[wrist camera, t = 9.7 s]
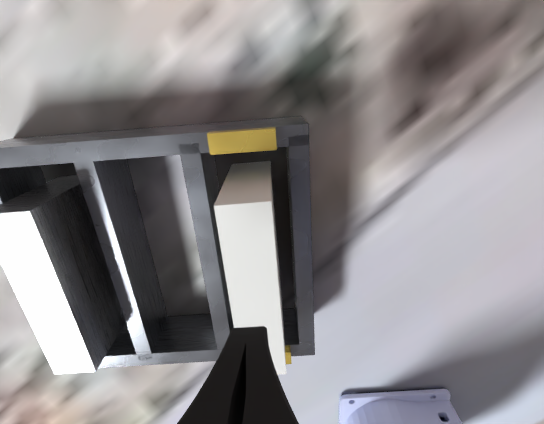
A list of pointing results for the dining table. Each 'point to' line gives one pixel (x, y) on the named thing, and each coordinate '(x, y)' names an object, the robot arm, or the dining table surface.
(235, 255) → the block
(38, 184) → the rack
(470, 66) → the dining table surface
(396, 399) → the robot arm
